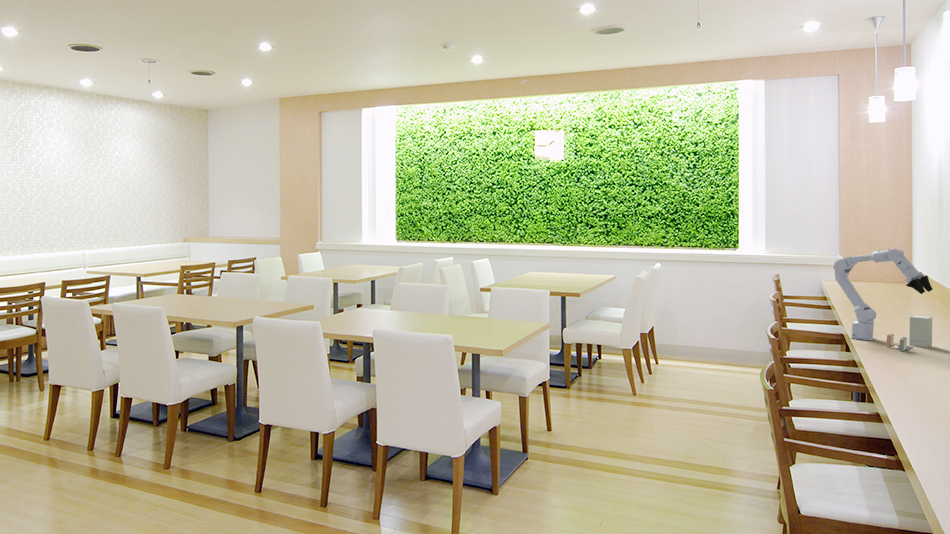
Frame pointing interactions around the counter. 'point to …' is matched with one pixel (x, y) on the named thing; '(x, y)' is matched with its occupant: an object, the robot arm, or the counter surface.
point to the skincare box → (920, 331)
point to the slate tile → (903, 344)
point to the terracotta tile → (890, 340)
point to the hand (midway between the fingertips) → (927, 291)
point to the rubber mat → (906, 347)
